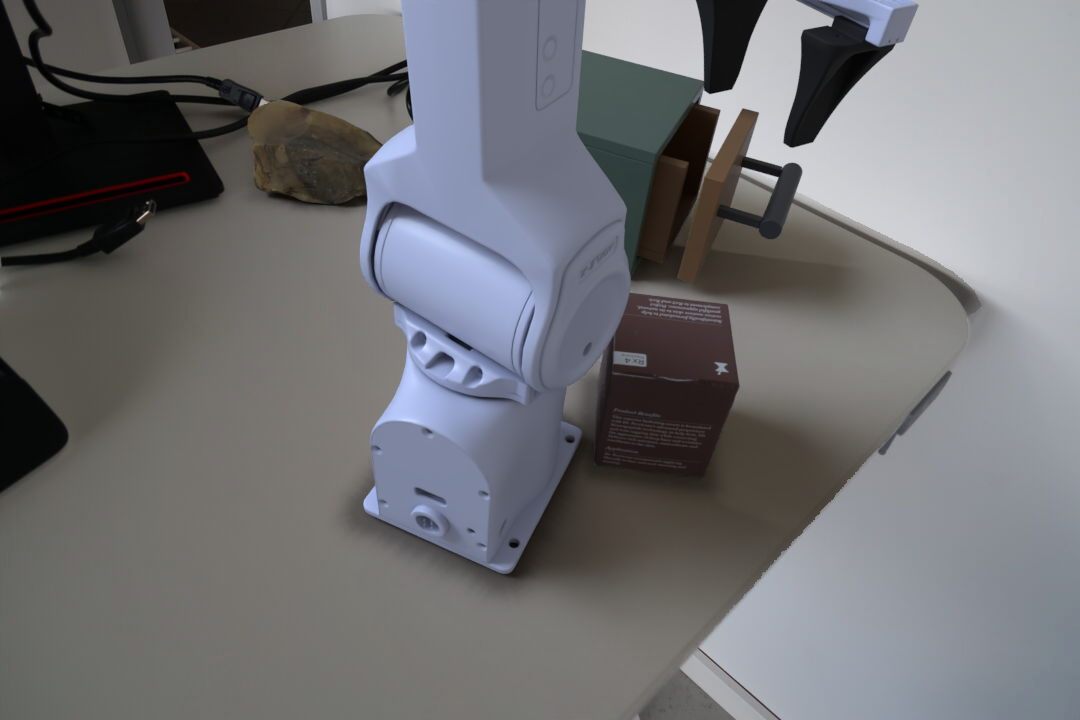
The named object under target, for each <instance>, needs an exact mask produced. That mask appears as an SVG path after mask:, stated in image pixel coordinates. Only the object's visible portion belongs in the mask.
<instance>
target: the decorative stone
mask: <svg viewBox="0 0 1080 720" xmlns="http://www.w3.org/2000/svg"><path fill="white" fill-rule="evenodd" d="M246 127H247V132H248V133H249V137H250V138H251V139H252V146H251V149H252V152H253V155H254V159H253V168H252V175H253V176H252V177H253V178H252V179H253V183H254V186H255V187H256V189H257V190H259V191H260V192H261V191H262V192H266V193H273V194H281V195H286V196H290V197H293V198H295V199H297V200H299V201H302V202H307V203H314V204H324V205H339V204H344V203H346V202H349V201H350V200H352V199H355V198H358V197H362V198H367V186H366V180H365V175H364V167H365V165H366V164H367V163H368V161H369V160H370V159H371V158H372V157H373V156H374V155H375V154H376V153H377V152H378V150H379V149H380V148H381V147H382V146H383V145H384V144H383V143H381V142H380V140H378V139H376V138H375V137H374V135H372V134H371V133H370V132H369V131H368V130H365V129H362V128H361V127H359V126H356V125H355V124H353V123H351V122H349V121H348V120H345V119H343V118H340V117H338V116H335V115H333V114H330V113H326V112H325V111H321V110H317V109H313V108H310V107H308V106H303V105H300V104H297V103H295V102H291V101H288V100H283V99H279V98H277V99H274V100H272V101H269V102H267V103H264V104H261V105H259V106H257V107H256V108H255V109H254V110H253V111H252V112H251V114H250V115H249V117H247V126H246Z"/></svg>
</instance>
